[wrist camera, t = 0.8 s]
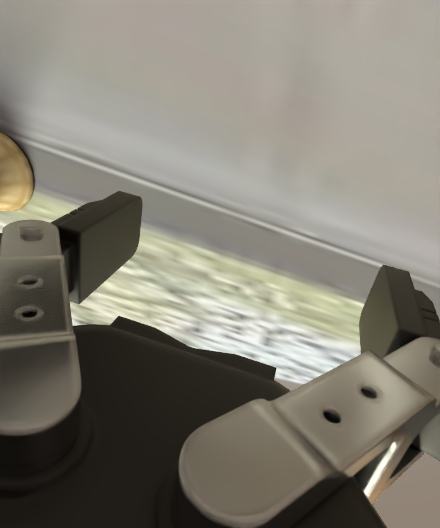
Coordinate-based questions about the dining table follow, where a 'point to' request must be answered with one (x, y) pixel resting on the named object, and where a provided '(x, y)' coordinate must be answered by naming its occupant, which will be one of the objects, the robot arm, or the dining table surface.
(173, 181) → the dining table surface
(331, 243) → the dining table surface
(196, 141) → the dining table surface
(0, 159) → the hand bell
